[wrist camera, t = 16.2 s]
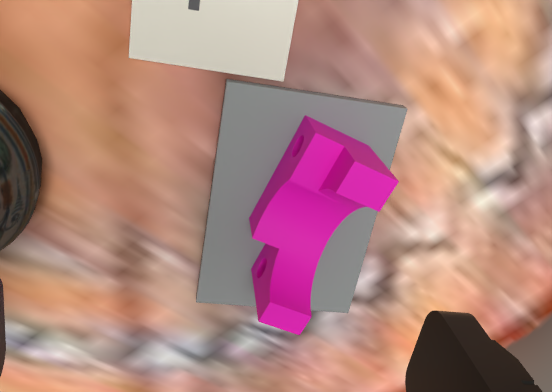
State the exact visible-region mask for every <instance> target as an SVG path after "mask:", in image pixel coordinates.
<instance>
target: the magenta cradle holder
mask: <svg viewBox="0 0 552 392" xmlns="http://www.w3.org/2000/svg"><path fill="white" fill-rule="evenodd" d="M398 182H399V181H398V180H397V179H396V178H395V176H394V175H393V174H392V173H391V172H390V170H389V169H388V168H387V167H386V166H385V164H384V163H383V162H382V161H381V160H380V158H379V157H378V156H377V155H376V153H375V152H374V151H373V150H372V149H371V147H370V146H369V145H367V144H364V143H362V142H360V141H358V140H356V139H354V138H352V137H350V136H348V135H346V134H344V133H342V132H340V131H337V130H335V129H333V128H331V127H329V126H327V125H325V124H323V123H321V122H319V121H317V120H315V119H313V118H310V117H308V116H306V115H305V116H304V118H303V120H302V122H301V124H300V126H299V127H298V129H297V131H296V133H295V135H294V137H293V138H292V140H291V142H290V144H289V146H288V148H287V149H286V151H285V153H284V155H283V157H282V159H281V161H280V162H279V164H278V166H277V168H276V170H275V172H274V173H273V175H272V177H271V179H270V181H269V183H268V184H267V186H266V188H265V190H264V192H263V194H262V195H261V197H260V199H259V201H258V203H257V205H256V206H255V208H254V210H253V212H252V214H251V216H250V217H249V221H250V227H251V233H252V239H255V240H258V241H260V242H263V243H265V245H264V247H263V249H262V251H261V252H260V254H259V256H258V258H257V259H256V261H255V263H254V265H253V266H252V268H251V272H252V279H253V286H254V293H255V300H256V307H257V314H258V321H259V322H262V323H265V324H268V325H271V326H274V327H277V328H280V329H283V330H286V331H289V332H292V333H295V334H298V335H300V334H301V332H302V331H303V329H304V328H305V326H306V324H307V323H308V321H309V320H310V318H311V317H312V316H311V290H312V284H313V279H314V275H315V271H316V268H317V265H318V262H319V259H320V257H321V255H322V252H323V250H324V248H325V246H326V244H327V242H328V240H329V239H330V237H331V235H332V234H333V232H334V231H335V229H336V228H337V227H338V226H339V224H340V223H341V222H342V221H343V220H344V219H345V218H346V217H347V216H348V215H349V214H351V213H352V212H354V211H355V210H357V209H360V208H363V207H369V208H371V209H374V210H376V211H378V212H379V211H380V210H381V208H382V207H383V205H384V204H385V202H386V200H387V199H388V197H389V196H390V194H391V193H392V191H393V190H394V188H395V187H396V185H397V183H398Z"/></svg>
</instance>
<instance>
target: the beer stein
mask: <svg viewBox="0 0 552 392" xmlns="http://www.w3.org/2000/svg"><path fill="white" fill-rule="evenodd" d="M41 170H42V158H41V154H40V150H39V146H38V141H37V139H36V137H35V135H34V134H33V132H32V130H31V128H30V126H29V125H28V123H27V121H26V119H25V117H24V116H23V114H22V112H21V110H20V108H19V107H18V106H17V105H16V104H14V103H13V102H12V101H11V100H10V99H9V98H8V97H7V96H6V95H5V94H4V93H3V92H2V91H1V90H0V251H1V250H2V249H4V248H5V247H6V246H8V245H9V244H10V243H11V242H13V241H14V240H15V239H16V238H17V236H18V235H19V234H20V233H21V232H22V231H23V230H24V228H25V227H26V225H27V224H28V223H29V221H30V219H31V217H32V214H33V212H34V210H35V206H36V203H37V199H38V195H39V190H40V187H41Z"/></svg>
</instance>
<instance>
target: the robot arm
mask: <svg viewBox="0 0 552 392" xmlns="http://www.w3.org/2000/svg"><path fill="white" fill-rule="evenodd" d="M5 351H6V341H5V319H4V297H3V284H2V281H1V279H0V376H1V373H2V369H3V365H4V360H5ZM405 383H406V392H542V390H541V389H540V388H539V387H538V385H534V380H533V379H532V377H531V376H530V375H529V373H528V372H527V371H526V369H525V368H524V367H523V366H522V364H521V363H520V362H519V360H518V359H517V358H515V357H514V356H513V355H512V354H511V353H509V352H508V351H507V350H506V349H505V348H503V347H502V346H501V345H500V344H498V343H497V342H496V341H495V340H491V339H490V338H489V336H488V335H487V334H486V332H485V331H484V329H483V328H482V327H481V325H480V324H479V323H478V321H477V320H476V319H475V317H474V316H473V315H471V314H469V313H459V312H446V311H431V312H430V313H429V314H428V315H427V317H426V319H425V321H424V324H423V327H422V329H421V332H420V335H419V337H418V340H417V343H416V345H415V348H414V351H413V354H412V356H411V359H410V362H409V364H408V367H407V371H406V380H405Z"/></svg>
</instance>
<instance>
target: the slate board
mask: <svg viewBox="0 0 552 392" xmlns="http://www.w3.org/2000/svg"><path fill="white" fill-rule="evenodd" d="M406 112H407V108H406V107H405V106H403V105H397V104H390V103H384V102H377V101H371V100H364V99H357V98H351V97H344V96H338V95H331V94H324V93H318V92H311V91H304V90H298V89H291V88H285V87H278V86H271V85H265V84H258V83H252V82H245V81H238V80H232V79H226V86H225V93H224V100H223V107H222V114H221V122H220V129H219V136H218V143H217V151H216V158H215V165H214V172H213V180H212V187H211V194H210V201H209V208H208V216H207V223H206V230H205V237H204V245H203V252H202V259H201V266H200V273H199V281H198V288H197V295H196V302H199V303H214V304H228V305H242V306H256V300H255V293H254V286H253V279H252V272H251V268H252V266H253V265H254V263H255V261H256V259H257V258H258V256H259V254H260V252H261V251H262V249H263V247H264V245H265V243H263V242H260V241H258V240H255V239H252V233H251V227H250V221H249V217H250V216H251V214H252V212H253V210H254V208H255V206H256V205H257V203H258V201H259V199H260V197H261V195H262V194H263V192H264V190H265V188H266V186H267V184H268V183H269V181H270V179H271V177H272V175H273V173H274V172H275V170H276V168H277V166H278V164H279V162H280V161H281V159H282V157H283V155H284V153H285V151H286V149H287V148H288V146H289V144H290V142H291V140H292V138H293V137H294V135H295V133H296V131H297V129H298V127H299V126H300V124H301V122H302V120H303V118H304V116H305V115H306V116H308V117H310V118H313V119H315V120H317V121H319V122H321V123H323V124H325V125H327V126H329V127H331V128H333V129H335V130H337V131H340V132H342V133H344V134H346V135H348V136H350V137H352V138H354V139H356V140H358V141H360V142H362V143H364V144H367V145H369V146H370V147H371V149H372V150H373V151H374V152H375V153H376V155H377V156H378V157H379V158H380V160H381V161H382V162H383V163H384V164H385V166H386V167H387V168H388V169H389V170H390V167H391V163H392V160H393V157H394V153H395V150H396V146H397V143H398V139H399V136H400V132H401V129H402V126H403V122H404V119H405V115H406ZM377 212H378V211H376V210H374V209H371V208H369V207H363V208H360V209H357V210H355V211H354V212H352V213H351V214H349V215H348V216H347V217H346V218H345V219H344V220H343V221H342V222H341V223H340V224H339V226H338V227H337V228H336V229H335V231H334V232H333V234H332V235H331V237H330V239H329V240H328V242H327V244H326V246H325V248H324V250H323V252H322V255H321V257H320V259H319V262H318V265H317V268H316V271H315V275H314V279H313V284H312V290H311V310H314V311H328V312H342V313H348V312H349V308H350V305H351V301H352V298H353V294H354V291H355V288H356V284H357V281H358V277H359V274H360V270H361V267H362V263H363V260H364V257H365V253H366V250H367V246H368V243H369V239H370V236H371V232H372V229H373V226H374V222H375V219H376V215H377Z"/></svg>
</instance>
